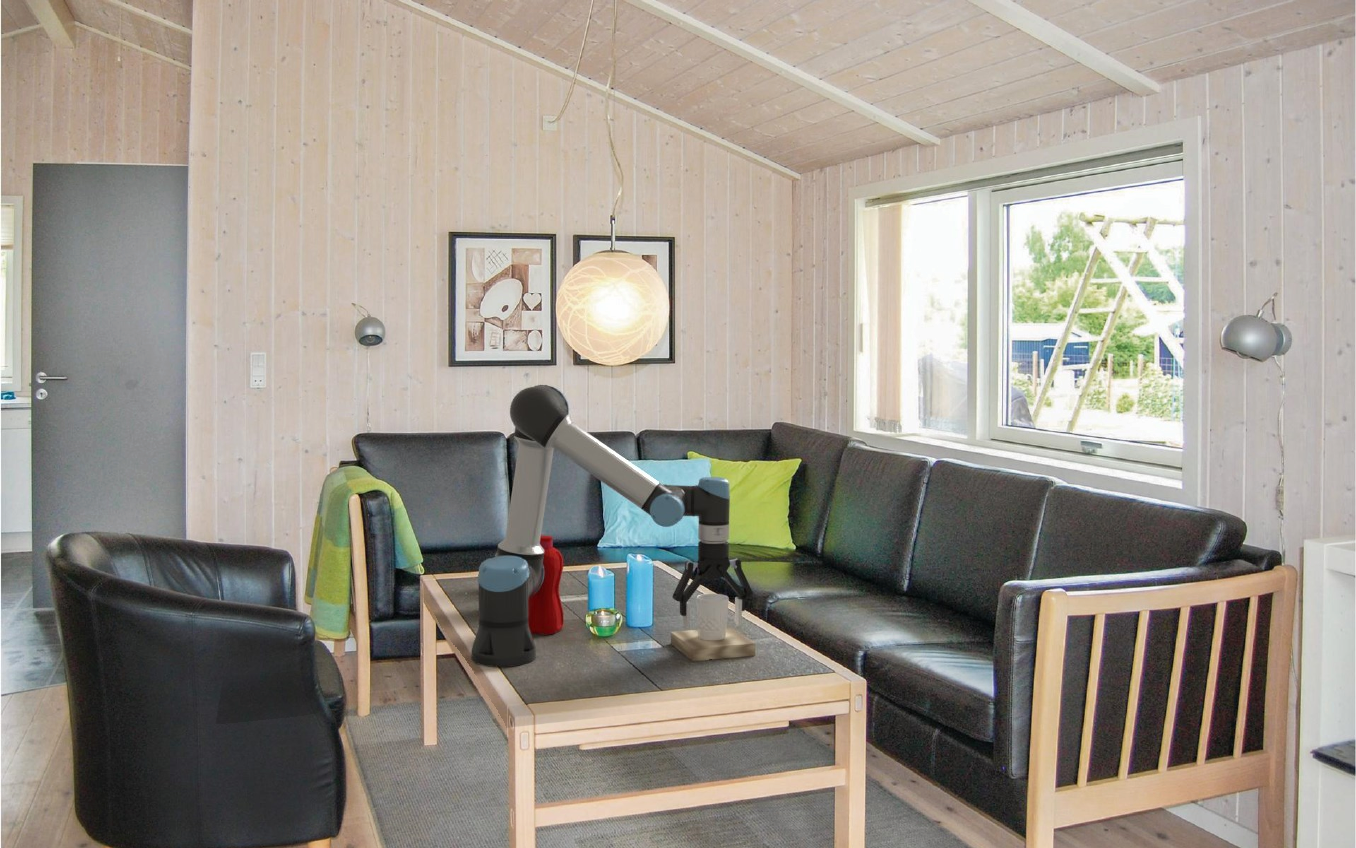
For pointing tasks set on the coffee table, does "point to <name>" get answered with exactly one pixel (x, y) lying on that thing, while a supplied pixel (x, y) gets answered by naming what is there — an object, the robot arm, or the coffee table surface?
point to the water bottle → (547, 593)
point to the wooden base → (712, 645)
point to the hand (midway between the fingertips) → (712, 626)
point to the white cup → (712, 616)
